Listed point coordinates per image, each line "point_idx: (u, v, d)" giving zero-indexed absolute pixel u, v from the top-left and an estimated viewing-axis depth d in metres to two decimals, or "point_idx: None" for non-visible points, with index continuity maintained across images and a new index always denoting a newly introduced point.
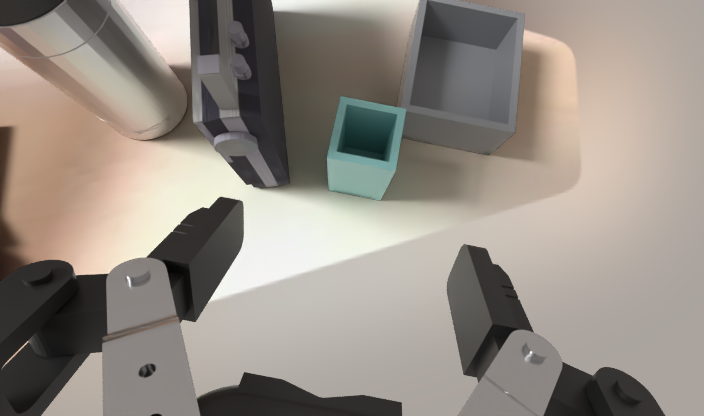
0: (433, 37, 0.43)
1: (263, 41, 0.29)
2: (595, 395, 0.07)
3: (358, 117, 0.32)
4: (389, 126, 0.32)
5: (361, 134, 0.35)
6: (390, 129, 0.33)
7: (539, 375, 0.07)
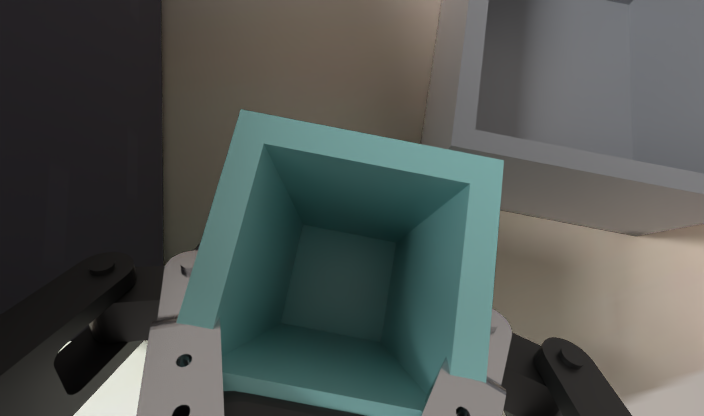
0: None
1: None
2: (543, 367, 0.08)
3: (321, 181, 0.09)
4: (426, 207, 0.10)
5: (339, 213, 0.12)
6: (427, 213, 0.10)
7: None
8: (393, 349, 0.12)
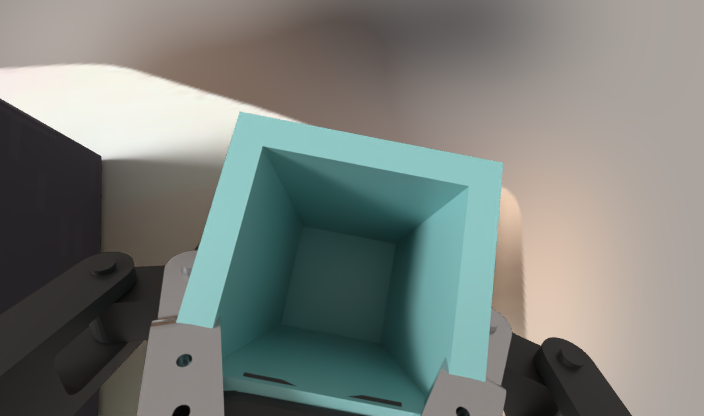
0: None
1: None
2: (543, 367, 0.08)
3: (320, 183, 0.09)
4: (425, 209, 0.10)
5: (339, 214, 0.12)
6: (427, 215, 0.10)
7: (488, 343, 0.08)
8: (393, 351, 0.12)
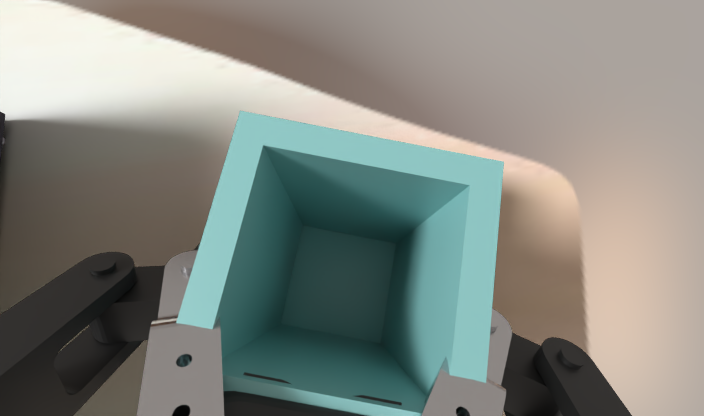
0: None
1: None
2: (543, 367, 0.08)
3: (320, 182, 0.09)
4: (426, 208, 0.10)
5: (339, 214, 0.12)
6: (427, 214, 0.10)
7: None
8: (393, 350, 0.12)
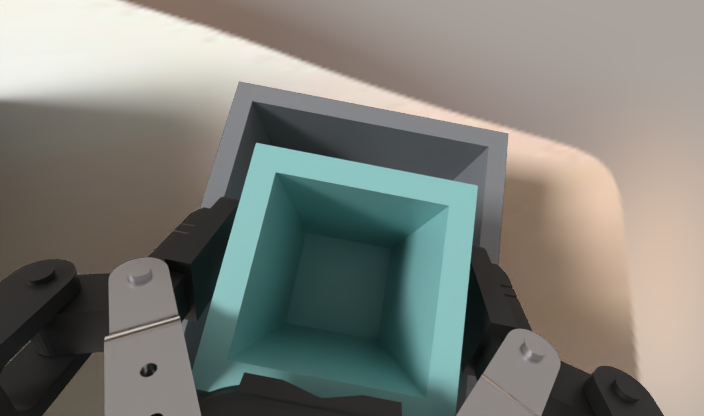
0: None
1: None
2: (593, 394, 0.07)
3: (323, 200, 0.11)
4: (415, 221, 0.11)
5: (339, 224, 0.14)
6: (416, 226, 0.12)
7: (537, 374, 0.07)
8: (387, 346, 0.14)
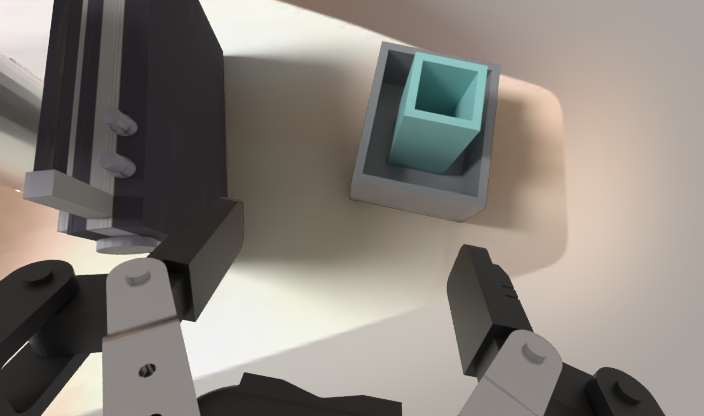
0: (401, 85, 0.38)
1: (178, 110, 0.25)
2: (595, 395, 0.07)
3: (431, 77, 0.29)
4: (463, 88, 0.30)
5: (427, 100, 0.33)
6: (463, 92, 0.30)
7: (539, 375, 0.07)
8: None
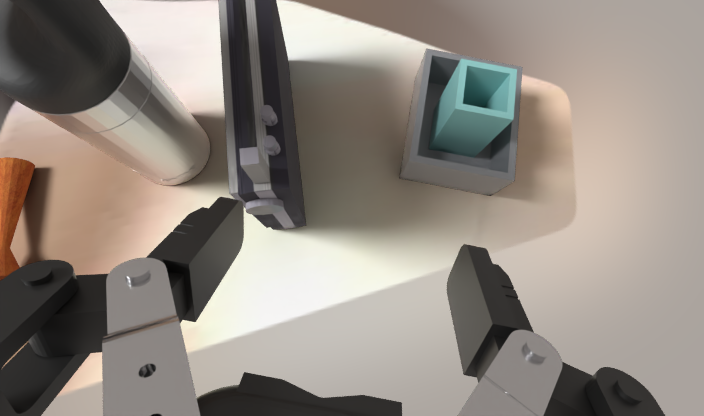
0: (437, 84, 0.46)
1: (286, 107, 0.32)
2: (595, 395, 0.07)
3: (471, 78, 0.37)
4: (496, 86, 0.38)
5: (464, 96, 0.40)
6: (495, 90, 0.38)
7: (539, 375, 0.07)
8: None
